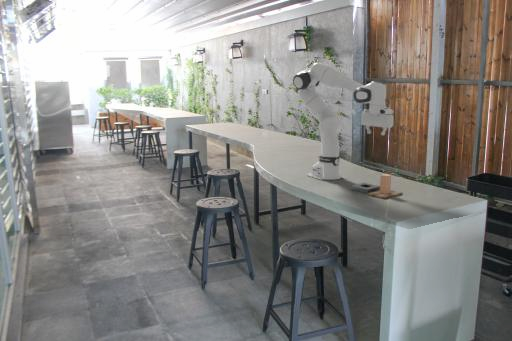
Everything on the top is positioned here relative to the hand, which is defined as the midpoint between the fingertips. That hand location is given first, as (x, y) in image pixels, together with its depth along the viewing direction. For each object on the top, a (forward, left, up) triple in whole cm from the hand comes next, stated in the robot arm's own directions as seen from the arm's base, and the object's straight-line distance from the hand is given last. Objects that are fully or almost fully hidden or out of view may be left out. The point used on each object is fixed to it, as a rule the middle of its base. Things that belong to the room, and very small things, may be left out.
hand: (375, 134), depth 263 cm
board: (+15, -10, -31) cm, 36 cm away
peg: (+15, -10, -30) cm, 35 cm away
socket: (+2, -10, -31) cm, 32 cm away
